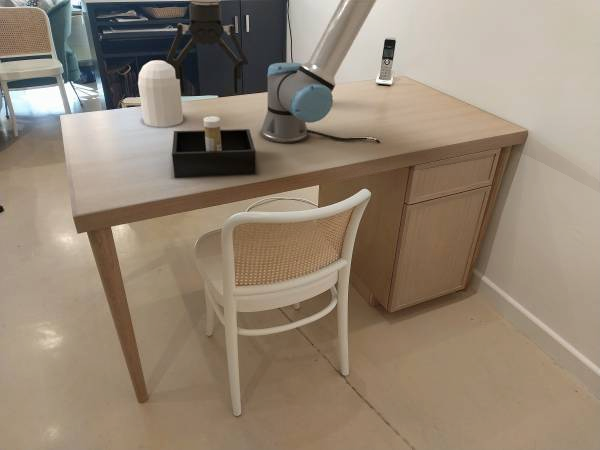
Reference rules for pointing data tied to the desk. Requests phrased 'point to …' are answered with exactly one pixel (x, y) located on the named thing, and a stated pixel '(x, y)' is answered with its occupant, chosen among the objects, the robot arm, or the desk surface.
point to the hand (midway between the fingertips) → (209, 91)
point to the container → (160, 94)
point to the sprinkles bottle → (212, 133)
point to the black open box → (213, 154)
